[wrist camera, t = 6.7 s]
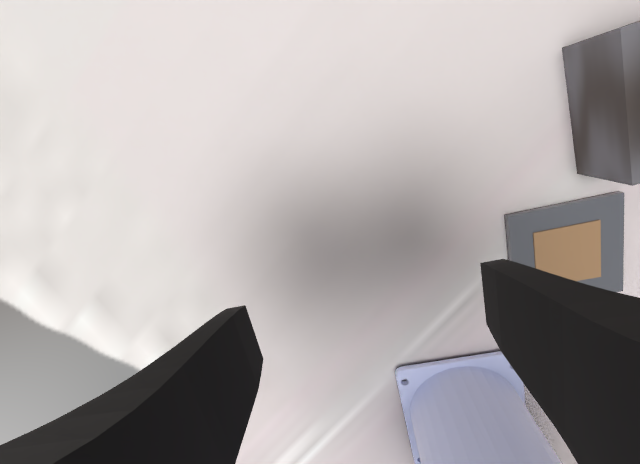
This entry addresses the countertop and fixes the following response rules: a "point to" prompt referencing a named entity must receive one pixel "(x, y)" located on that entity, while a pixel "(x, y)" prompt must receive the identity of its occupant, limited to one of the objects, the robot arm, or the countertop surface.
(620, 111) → the charcoal base block
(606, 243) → the tile
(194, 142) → the countertop surface
